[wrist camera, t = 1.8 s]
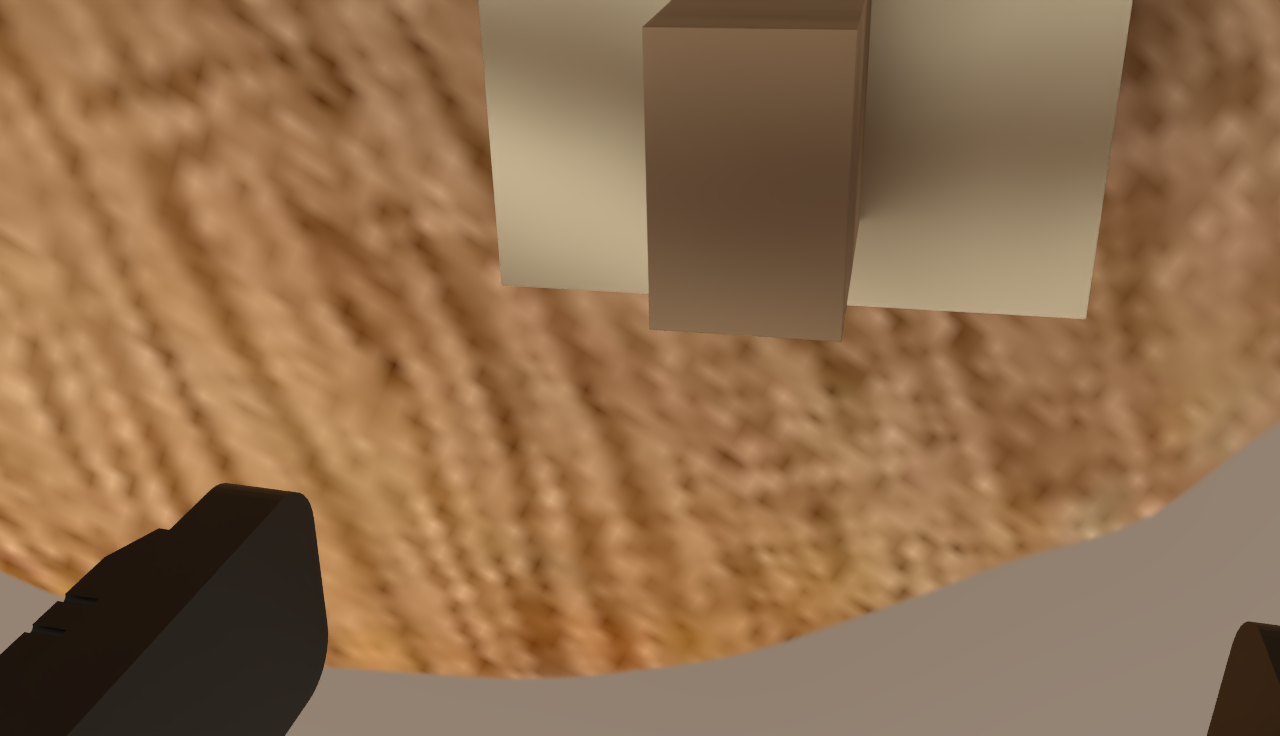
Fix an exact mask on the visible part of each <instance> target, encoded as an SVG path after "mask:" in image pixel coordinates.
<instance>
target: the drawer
mask: <svg viewBox="0 0 1280 736" xmlns="http://www.w3.org/2000/svg"><path fill="white" fill-rule="evenodd" d="M1132 1H1133V0H478V3H479V15H480V28H481V40H482V52H483V64H484V76H485V88H486V101H487V113H488V125H489V137H490V149H491V161H492V174H493V186H494V198H495V210H496V222H497V234H498V247H499V259H500V271H501V283H502V285H503V286H520V287H538V288H555V289H573V290H590V291H608V292H625V293H642V294H649V324H650V330H664V331H680V332H696V333H712V334H728V335H743V336H759V337H775V338H791V339H806V340H822V341H838V342H841V340H842V333H843V326H844V320H845V313H846V307H847V305H851V306H869V307H886V308H903V309H921V310H938V311H956V312H973V313H990V314H1008V315H1025V316H1043V317H1060V318H1077V319H1086V314H1087V307H1088V300H1089V293H1090V287H1091V280H1092V273H1093V266H1094V259H1095V253H1096V246H1097V239H1098V232H1099V225H1100V219H1101V212H1102V205H1103V198H1104V191H1105V185H1106V178H1107V171H1108V164H1109V158H1110V151H1111V144H1112V137H1113V130H1114V124H1115V117H1116V110H1117V103H1118V96H1119V90H1120V83H1121V76H1122V69H1123V62H1124V56H1125V49H1126V42H1127V35H1128V28H1129V22H1130V15H1131V8H1132Z"/></svg>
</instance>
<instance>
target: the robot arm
mask: <svg viewBox="0 0 1280 736" xmlns="http://www.w3.org/2000/svg"><path fill="white" fill-rule="evenodd" d="M65 595H66V596H65V600H64V602H59V601H57V602H56V603H55V604H54V605H53V606H52V607H51V608H50V609H49V610H48V611H47V612H45V613H44V614H43V615H42V616H41V617H40V618H39V619H38V620H37V621H36V622H35V623H34V624H33V629H32V631H31V633H26V632H24V633H23V634H22V635H21V636H20V637H19V638H18V639H17V640H15V641H14V642H13V643H12V644H11V645H10V646H9V647H8V648H7V649H6V650H5V651H4V652H3V653H2V654H0V736H285V734H286V733H287V732H288V730H289V729H290V727H291V726H292V724H293V723H294V722H295V720H296V719H297V717H298V716H299V714H300V713H301V711H302V710H303V708H304V707H305V705H306V704H307V703H308V701H309V700H310V698H311V696H312V695H313V693H314V691H315V689H316V686H317V685H318V682H319V680H320V677H321V674H322V671H323V667H324V663H325V659H326V653H327V644H328V626H327V617H326V609H325V602H324V594H323V586H322V578H321V570H320V563H319V555H318V547H317V539H316V531H315V524H314V517H313V511H312V508H311V505H310V503H309V501H308V499H307V498H306V497H305V496H304V495H303V494H301V493H297V492H290V491H282V490H275V489H267V488H260V487H252V486H245V485H237V484H230V483H222V484H219V485H217V486H215V487H214V488H213V489H211V490H210V491H209V492H208V493H207V494H206V495H205V496H204V497H203V498H202V499H201V500H200V501H199V502H198V503H197V504H196V505H195V506H194V507H193V508H192V509H191V510H189V511H188V512H187V513H186V514H185V515H184V516H183V517H182V518H181V519H180V520H179V521H178V522H177V523H176V524H175V525H174V526H173V527H172V528H171V529H170V530H166V529H157V530H155V531H153V532H151V533H149V534H147V535H146V536H144V537H142V538H140V539H138V540H136V541H134V542H132V543H131V544H129V545H127V546H125V547H123V548H121V549H119V550H117V551H115V552H114V553H112V554H110V555H108V556H106V557H104V558H103V559H102V560H101V561H100V562H99V563H98V564H97V565H96V566H95V567H94V568H93V569H92V570H90V571H89V572H88V573H87V574H86V575H85V576H84V577H83V578H82V579H81V580H80V581H79V582H78V583H77V584H75V585H74V586H73V587H72V588H71V589H70V590H69V591H68V592H67V593H66V594H65ZM1207 736H1280V626H1278V625H1270V624H1263V623H1256V622H1246V623H1244V624H1243V625H1242V626H1241V627H1240V629H1239V630H1238V632H1237V634H1236V637H1235V638H1234V641H1233V644H1232V648H1231V651H1230V655H1229V658H1228V662H1227V665H1226V669H1225V673H1224V676H1223V680H1222V683H1221V687H1220V690H1219V694H1218V698H1217V701H1216V705H1215V709H1214V712H1213V716H1212V719H1211V723H1210V726H1209V730H1208V734H1207Z"/></svg>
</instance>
